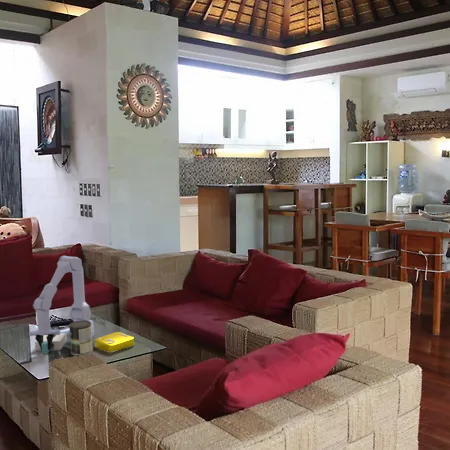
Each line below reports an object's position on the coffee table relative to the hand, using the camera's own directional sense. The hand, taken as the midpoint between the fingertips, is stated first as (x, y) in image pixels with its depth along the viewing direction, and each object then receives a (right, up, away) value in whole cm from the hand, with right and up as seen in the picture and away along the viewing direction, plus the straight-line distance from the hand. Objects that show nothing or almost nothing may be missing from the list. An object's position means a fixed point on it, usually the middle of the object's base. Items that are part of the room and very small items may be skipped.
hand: (46, 349), depth 270 cm
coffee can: (+18, -1, 0) cm, 18 cm away
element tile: (+32, 0, +6) cm, 33 cm away
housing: (0, 0, +9) cm, 9 cm away
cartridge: (0, -1, +5) cm, 5 cm away
